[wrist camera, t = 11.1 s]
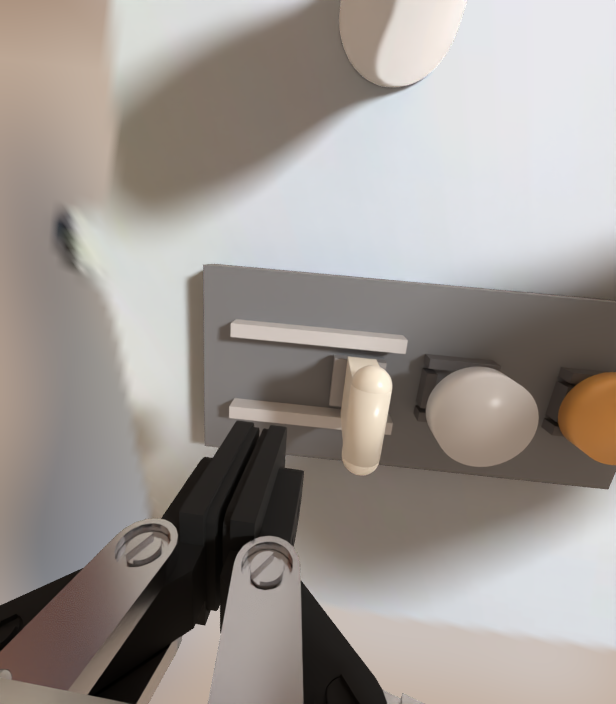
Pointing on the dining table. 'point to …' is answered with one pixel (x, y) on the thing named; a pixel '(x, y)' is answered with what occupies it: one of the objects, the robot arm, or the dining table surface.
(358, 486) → the dining table surface
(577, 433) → the orange button
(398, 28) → the tall white cup
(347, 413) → the lever
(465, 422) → the white rounded thick disc
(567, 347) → the panel
